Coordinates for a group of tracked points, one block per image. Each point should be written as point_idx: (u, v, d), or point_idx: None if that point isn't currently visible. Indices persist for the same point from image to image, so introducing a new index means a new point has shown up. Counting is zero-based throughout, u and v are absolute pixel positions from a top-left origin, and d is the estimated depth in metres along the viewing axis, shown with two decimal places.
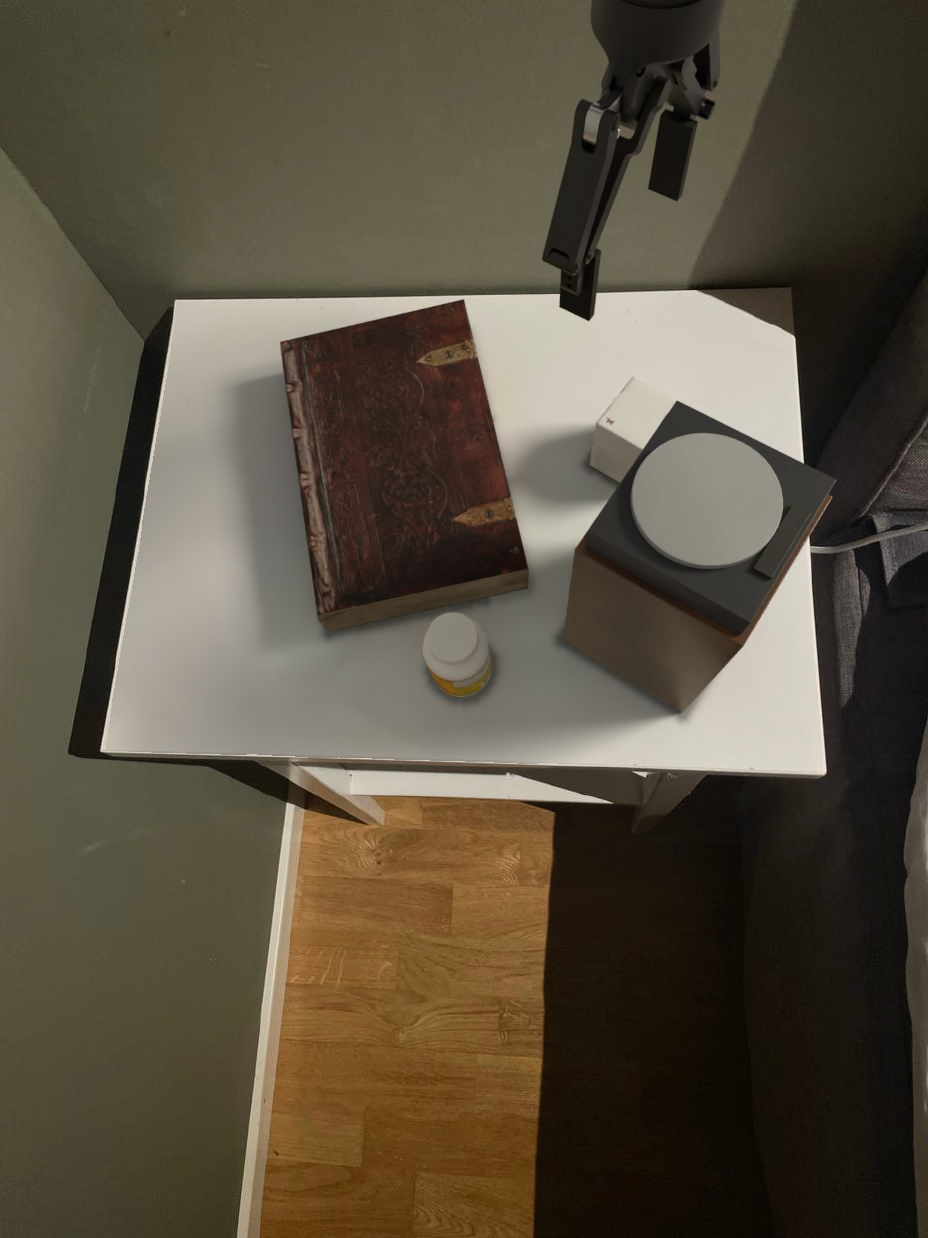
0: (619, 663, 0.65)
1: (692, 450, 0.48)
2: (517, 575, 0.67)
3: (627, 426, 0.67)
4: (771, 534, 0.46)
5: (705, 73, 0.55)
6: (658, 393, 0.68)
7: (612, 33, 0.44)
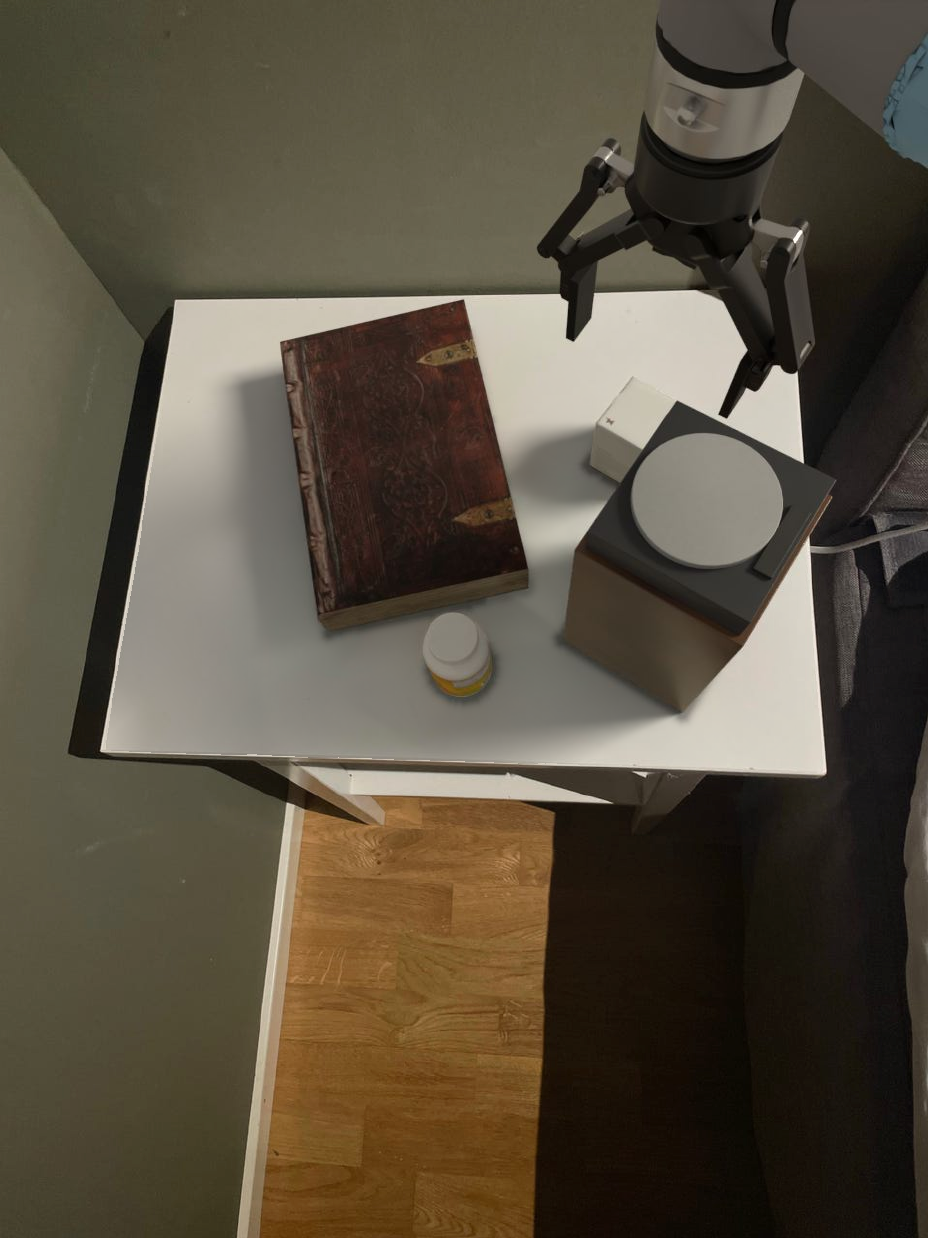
0: (619, 663, 0.65)
1: (692, 450, 0.48)
2: (517, 575, 0.67)
3: (627, 426, 0.67)
4: (771, 534, 0.46)
5: None
6: (658, 393, 0.68)
7: (756, 191, 0.42)
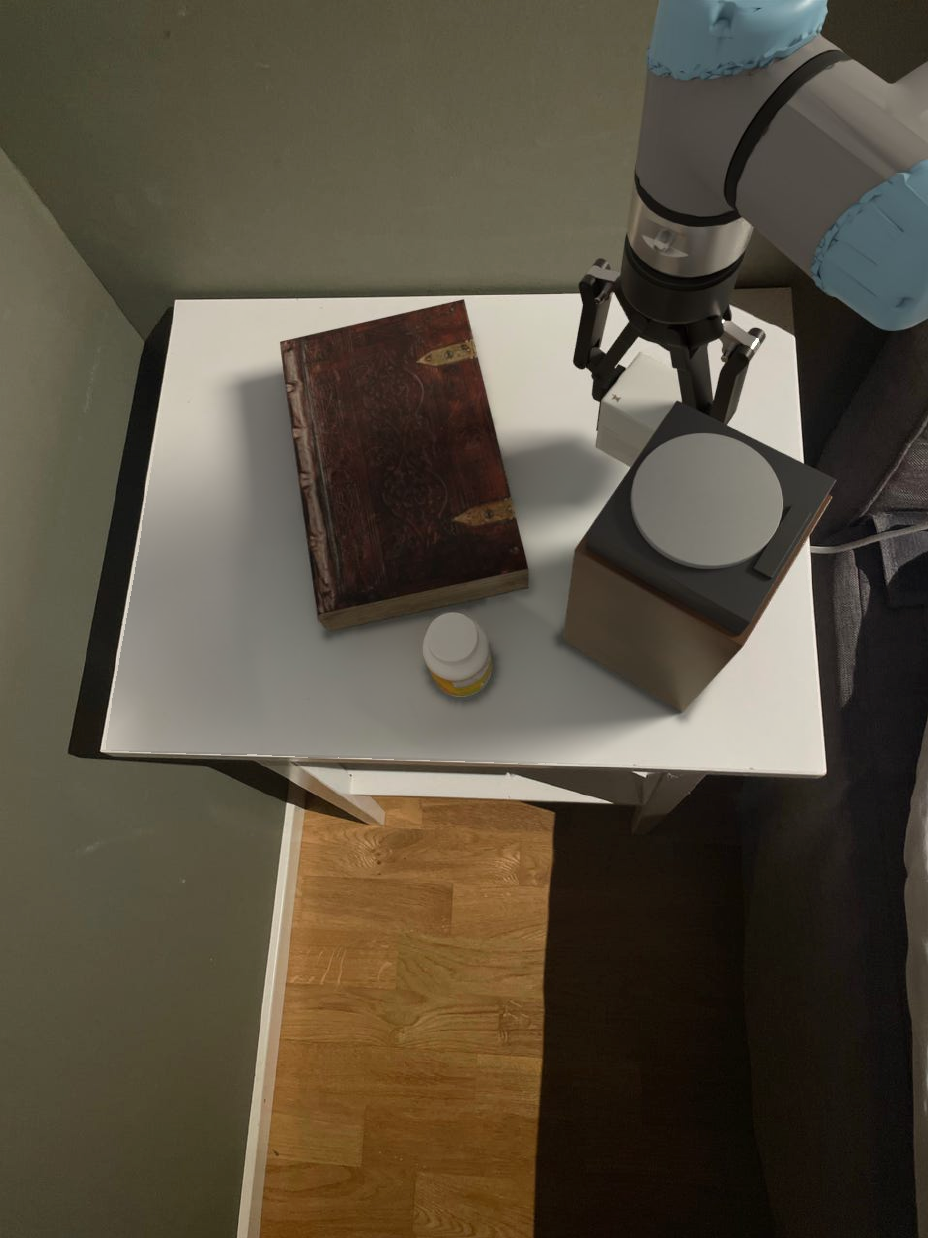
0: (619, 663, 0.65)
1: (692, 450, 0.48)
2: (517, 575, 0.67)
3: (634, 403, 0.64)
4: (771, 534, 0.46)
5: (601, 335, 0.63)
6: (666, 369, 0.64)
7: (724, 297, 0.50)
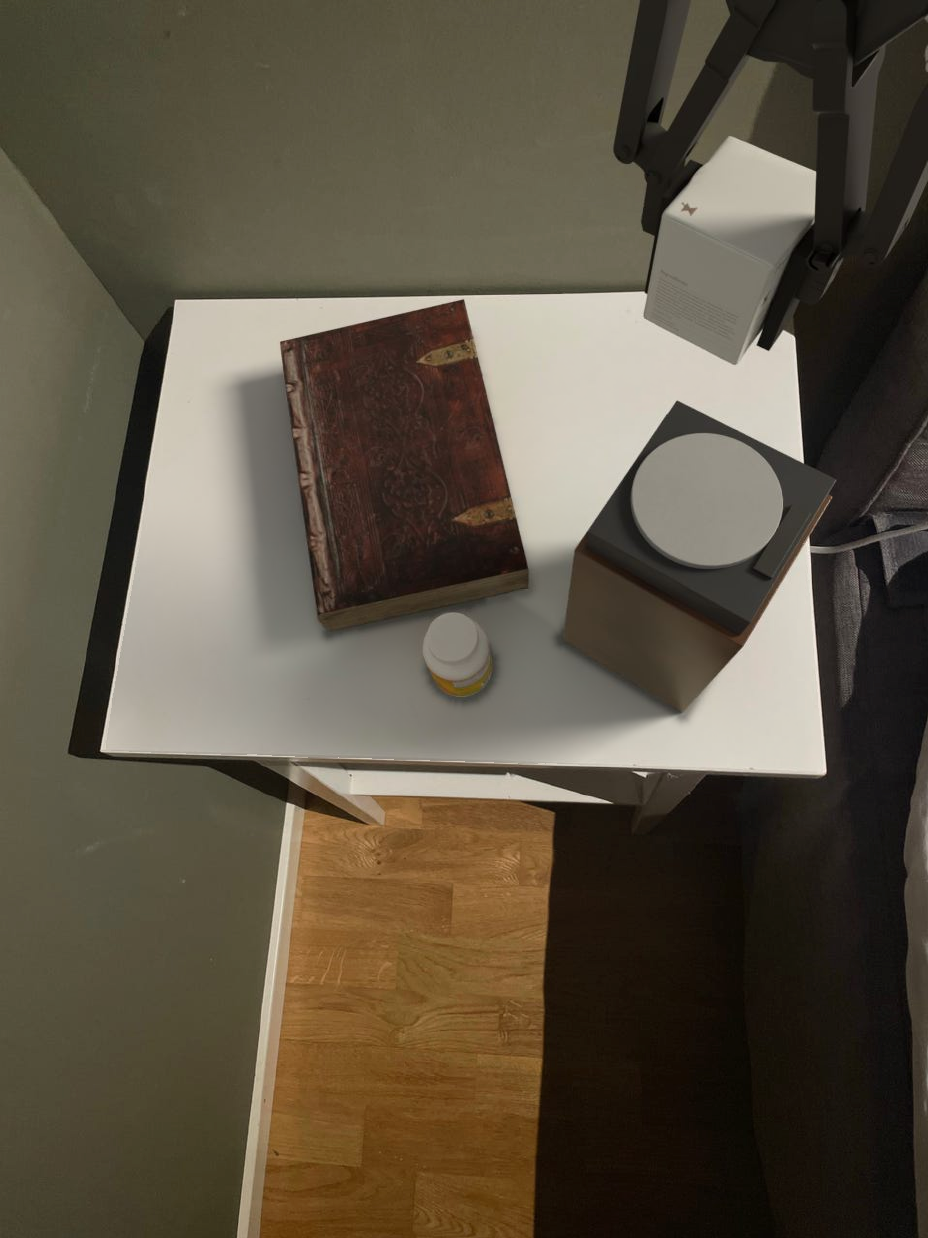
0: (619, 663, 0.65)
1: (692, 450, 0.48)
2: (517, 575, 0.67)
3: (721, 216, 0.36)
4: (771, 534, 0.46)
5: (665, 93, 0.36)
6: (776, 161, 0.37)
7: None
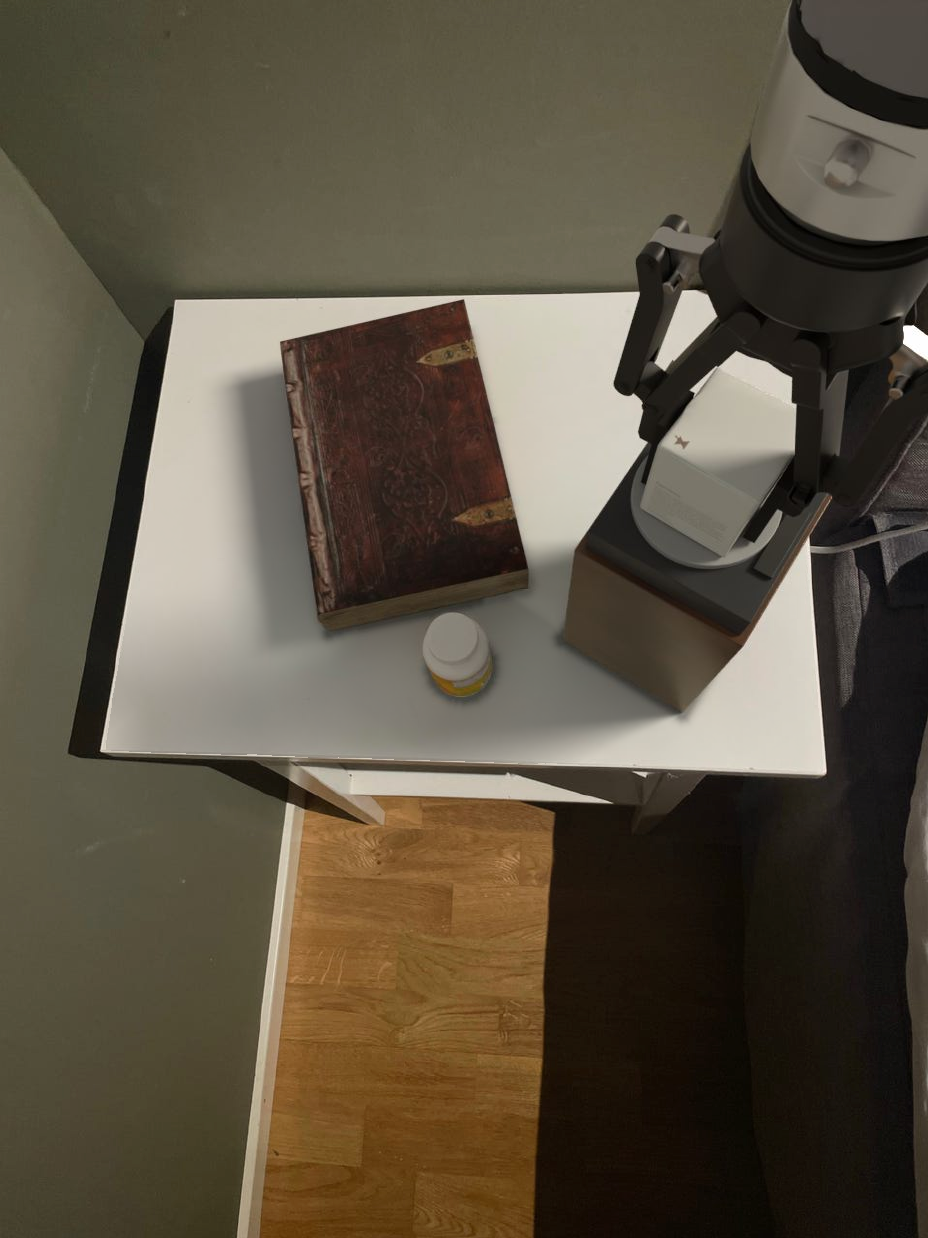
0: (619, 663, 0.65)
1: None
2: (517, 575, 0.67)
3: (711, 451, 0.40)
4: (771, 534, 0.46)
5: (660, 343, 0.39)
6: (760, 396, 0.41)
7: (924, 283, 0.27)
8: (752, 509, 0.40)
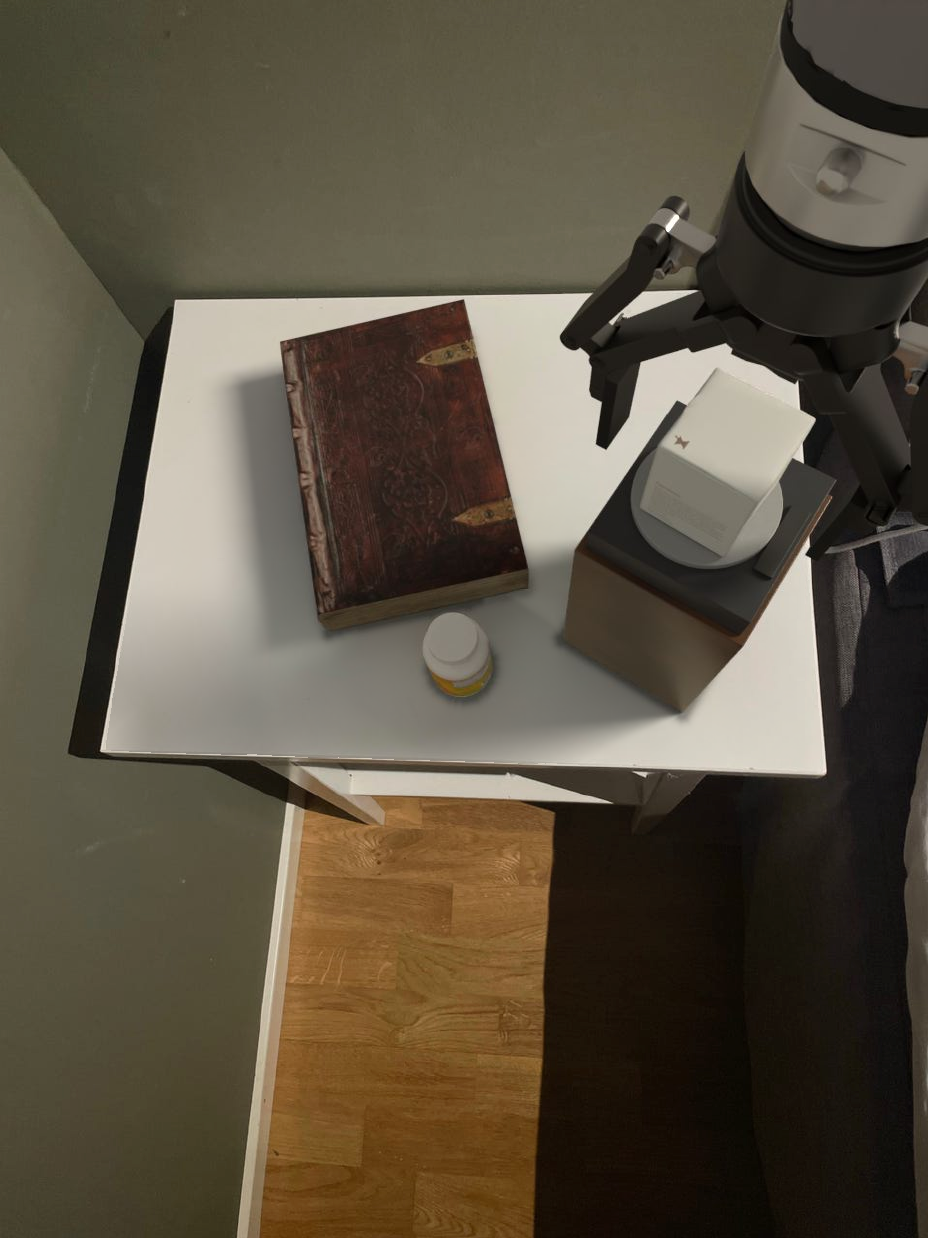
0: (619, 663, 0.65)
1: None
2: (517, 575, 0.67)
3: (711, 451, 0.40)
4: (771, 534, 0.46)
5: None
6: (760, 396, 0.41)
7: (918, 288, 0.27)
8: (752, 509, 0.40)
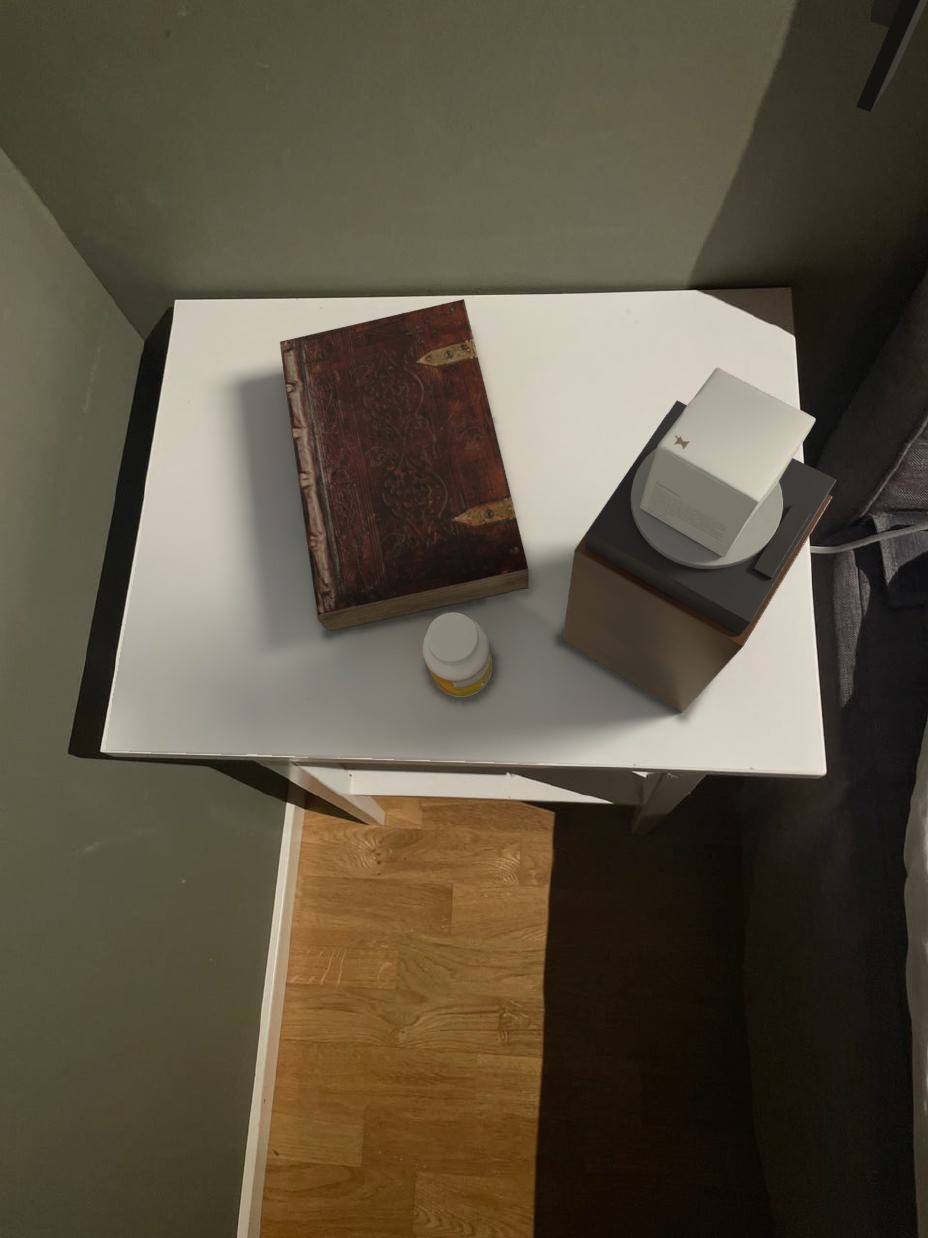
0: (619, 663, 0.65)
1: None
2: (517, 575, 0.67)
3: (711, 451, 0.40)
4: (771, 534, 0.46)
5: None
6: (760, 396, 0.41)
7: None
8: (752, 509, 0.40)
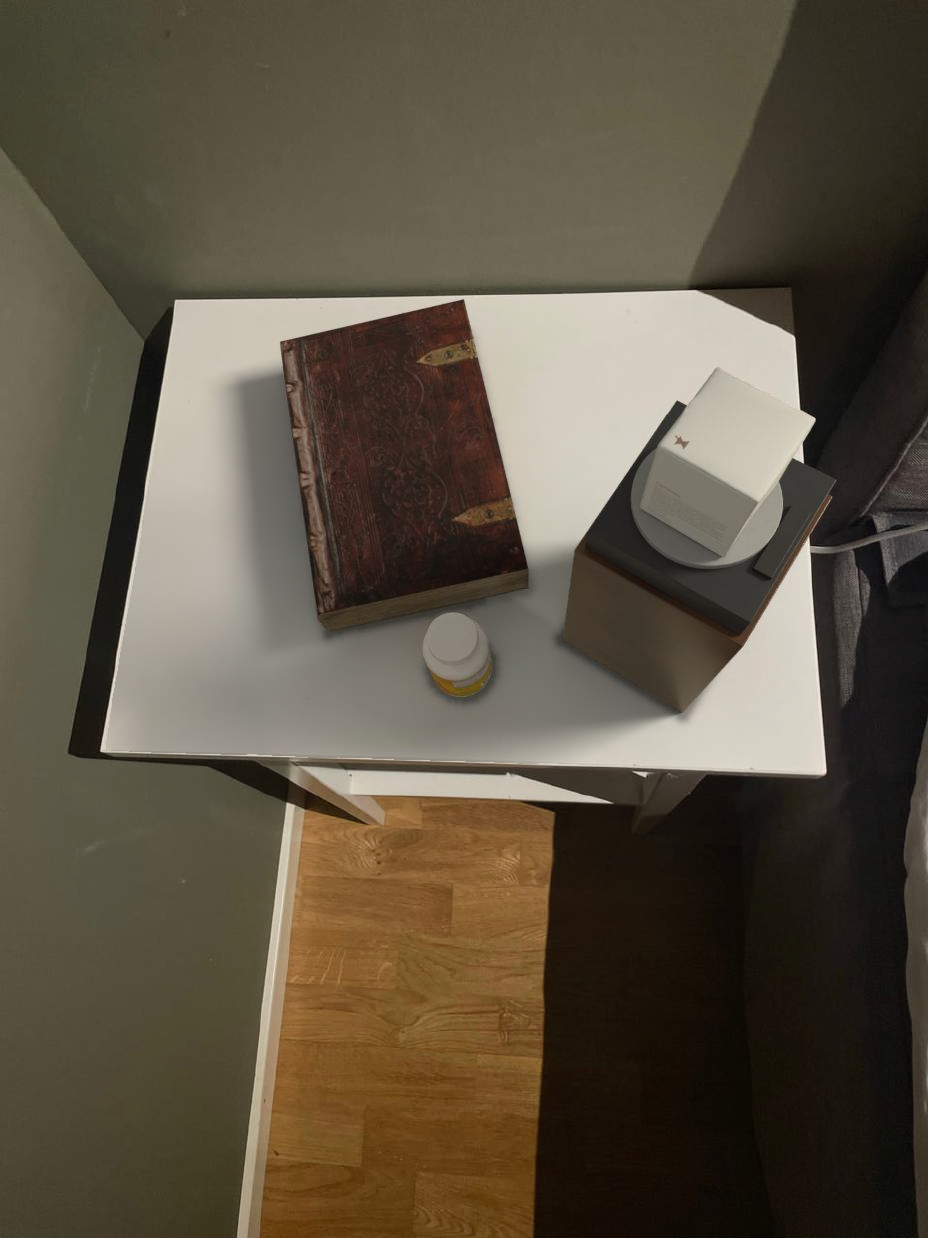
0: (619, 663, 0.65)
1: None
2: (517, 575, 0.67)
3: (711, 451, 0.40)
4: (771, 534, 0.46)
5: None
6: (760, 396, 0.41)
7: None
8: (752, 509, 0.40)
